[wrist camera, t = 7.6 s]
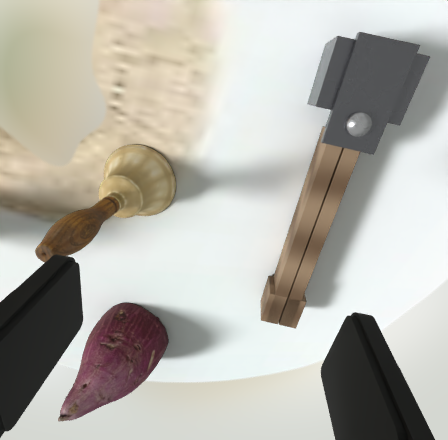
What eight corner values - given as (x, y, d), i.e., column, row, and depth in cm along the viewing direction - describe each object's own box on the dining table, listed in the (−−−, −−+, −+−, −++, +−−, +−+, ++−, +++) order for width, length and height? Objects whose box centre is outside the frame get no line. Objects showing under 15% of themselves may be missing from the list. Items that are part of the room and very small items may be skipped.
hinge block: (327, 39, 26) (344, 26, 20) (405, 56, 25) (442, 48, 20) (299, 131, 29) (307, 140, 24) (368, 147, 29) (392, 159, 24)
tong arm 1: (339, 129, 28) (349, 135, 25) (359, 134, 28) (372, 140, 25) (277, 304, 37) (279, 324, 34) (292, 308, 37) (295, 328, 34)
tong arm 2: (316, 124, 28) (324, 129, 25) (337, 129, 28) (347, 134, 25) (260, 300, 37) (261, 320, 34) (276, 304, 37) (277, 324, 34)
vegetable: (108, 325, 47) (18, 414, 35) (119, 284, 42) (17, 371, 29) (161, 363, 46) (87, 470, 33) (180, 325, 40) (100, 436, 28)
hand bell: (144, 228, 35) (65, 324, 21) (90, 178, 33) (-38, 245, 19) (191, 185, 32) (137, 261, 18) (135, 127, 31) (24, 161, 16)
